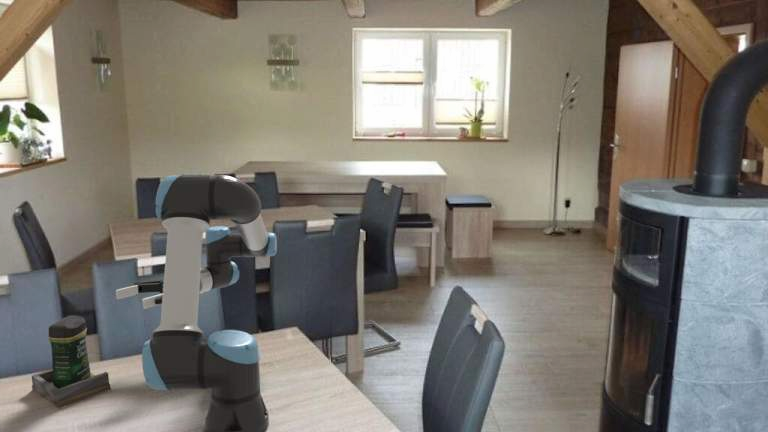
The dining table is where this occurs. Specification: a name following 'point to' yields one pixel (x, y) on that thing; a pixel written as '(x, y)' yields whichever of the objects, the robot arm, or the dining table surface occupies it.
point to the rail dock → (68, 388)
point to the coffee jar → (69, 351)
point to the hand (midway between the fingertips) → (129, 299)
